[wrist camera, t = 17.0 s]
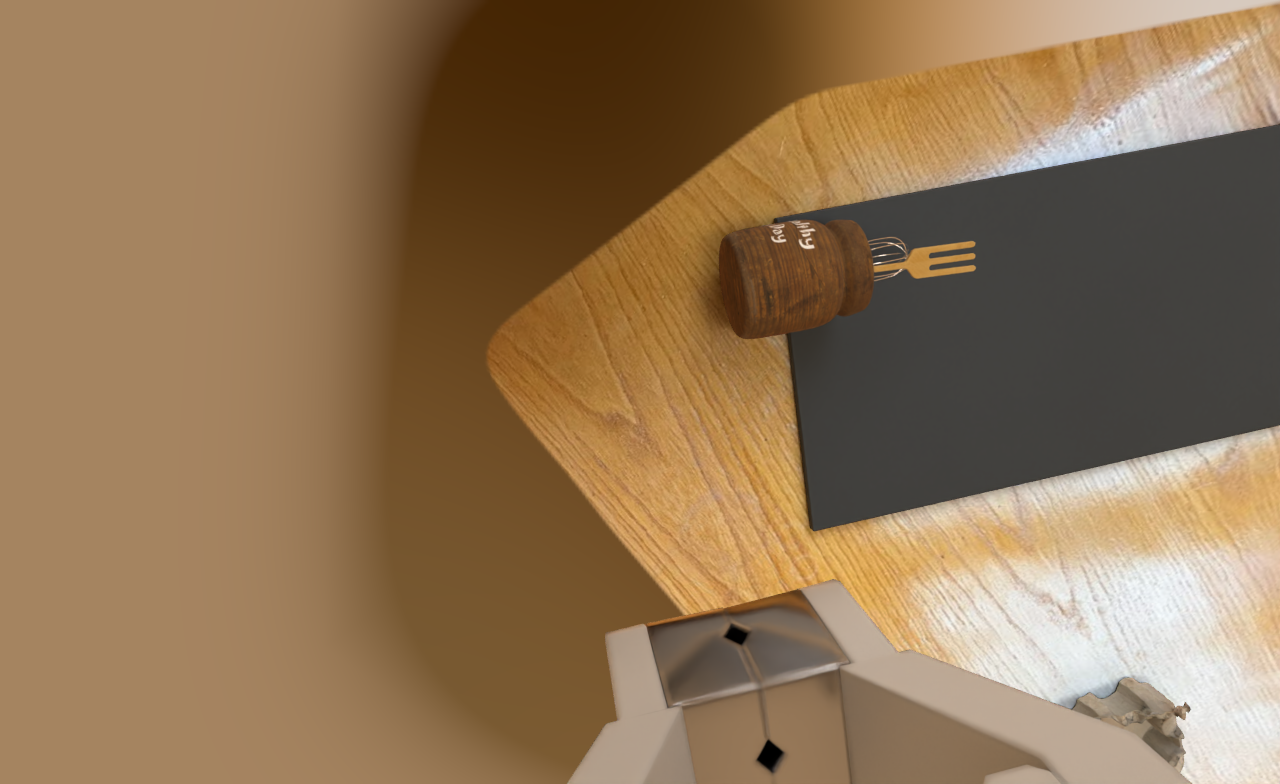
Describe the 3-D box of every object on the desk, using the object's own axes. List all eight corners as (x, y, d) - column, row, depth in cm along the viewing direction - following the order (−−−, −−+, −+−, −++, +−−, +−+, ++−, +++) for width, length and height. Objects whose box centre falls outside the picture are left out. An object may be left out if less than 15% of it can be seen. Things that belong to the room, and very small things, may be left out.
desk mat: (773, 218, 41) (776, 218, 40) (1326, 115, 44) (1336, 114, 44) (809, 527, 46) (813, 532, 46) (1300, 416, 49) (1309, 418, 49)
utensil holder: (724, 330, 42) (917, 295, 43) (752, 353, 36) (977, 313, 37) (711, 229, 40) (913, 195, 41) (739, 236, 34) (975, 196, 35)
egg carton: (1149, 665, 53) (1198, 701, 49) (1156, 744, 55) (1203, 785, 51) (1019, 712, 53) (1059, 752, 49) (1031, 789, 55) (1070, 834, 51)
